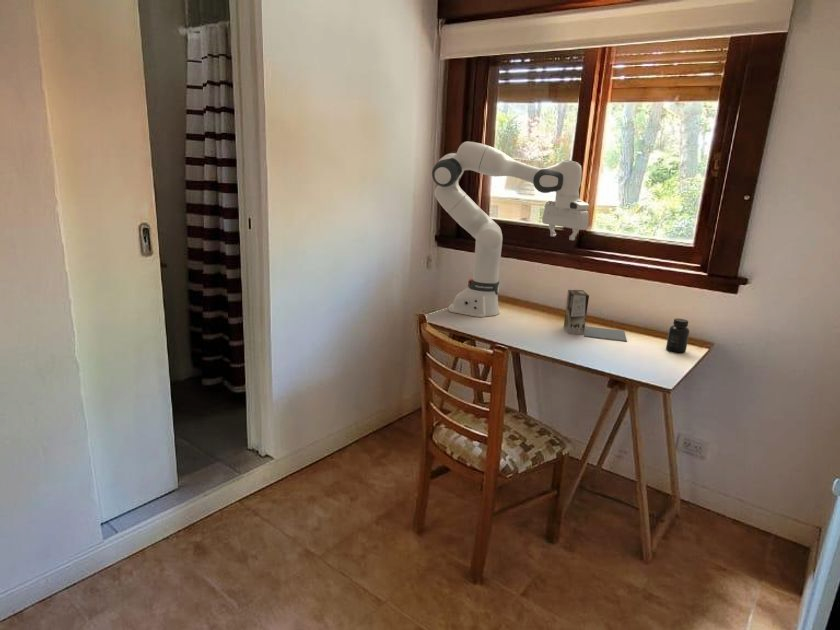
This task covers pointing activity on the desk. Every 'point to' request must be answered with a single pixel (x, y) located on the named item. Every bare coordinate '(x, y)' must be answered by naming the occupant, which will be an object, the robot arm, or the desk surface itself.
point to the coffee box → (576, 311)
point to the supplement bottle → (678, 336)
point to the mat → (605, 333)
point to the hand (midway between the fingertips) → (562, 238)
